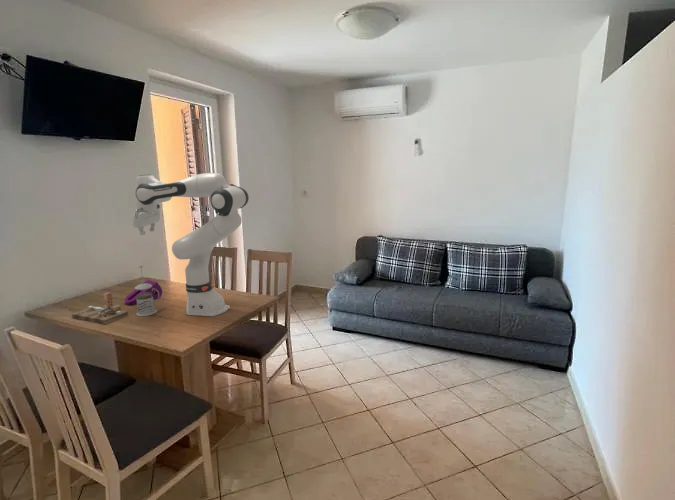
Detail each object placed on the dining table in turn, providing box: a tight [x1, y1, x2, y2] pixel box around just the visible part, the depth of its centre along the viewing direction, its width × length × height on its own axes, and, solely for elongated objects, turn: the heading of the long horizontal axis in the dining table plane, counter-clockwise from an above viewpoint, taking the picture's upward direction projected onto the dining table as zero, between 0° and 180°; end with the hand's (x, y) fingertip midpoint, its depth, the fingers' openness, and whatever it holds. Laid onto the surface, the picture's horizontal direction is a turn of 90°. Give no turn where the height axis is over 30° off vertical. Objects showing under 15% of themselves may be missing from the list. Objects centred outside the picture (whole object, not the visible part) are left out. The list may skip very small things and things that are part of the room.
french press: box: [134, 264, 160, 317], centre depth 192 cm, size 10×12×25 cm
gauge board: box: [71, 304, 129, 325], centre depth 189 cm, size 24×12×6 cm, turn 68°
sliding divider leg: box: [98, 291, 115, 315], centre depth 187 cm, size 3×8×9 cm, turn 158°
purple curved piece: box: [124, 279, 163, 306], centre depth 214 cm, size 9×8×18 cm
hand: (147, 233), depth 197 cm, fingers open, 8 cm apart
